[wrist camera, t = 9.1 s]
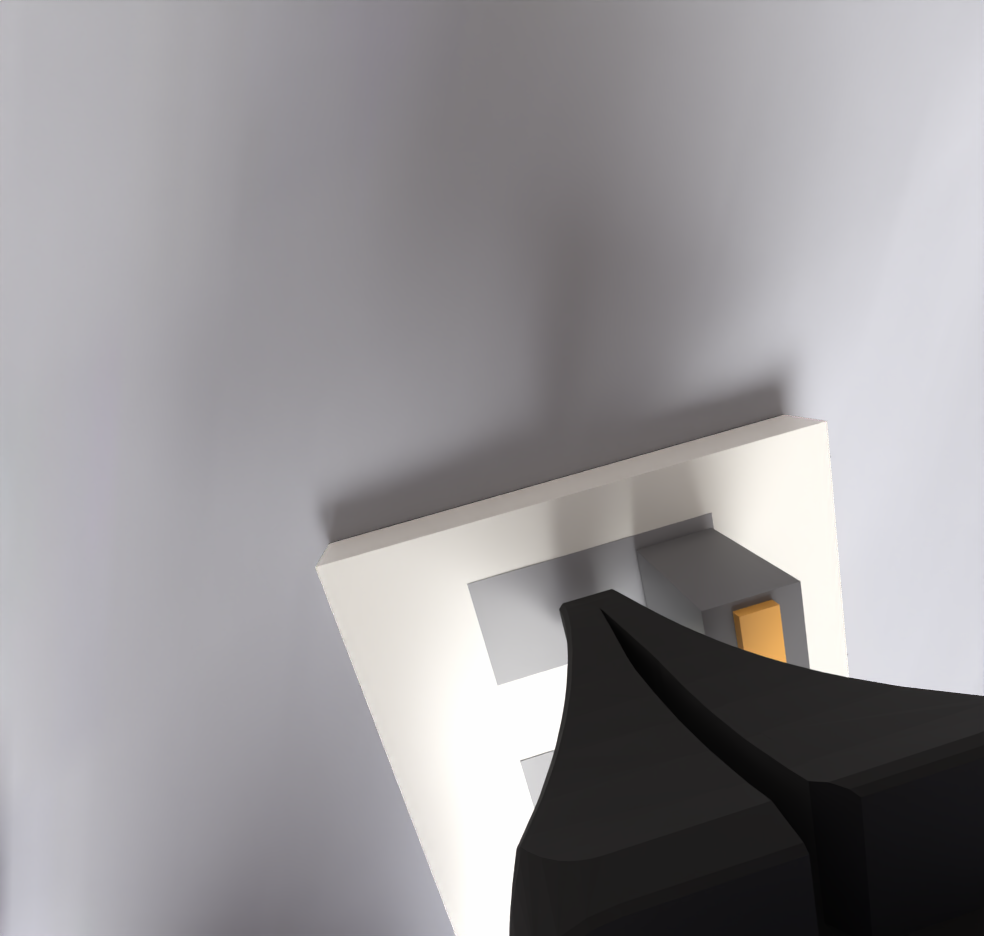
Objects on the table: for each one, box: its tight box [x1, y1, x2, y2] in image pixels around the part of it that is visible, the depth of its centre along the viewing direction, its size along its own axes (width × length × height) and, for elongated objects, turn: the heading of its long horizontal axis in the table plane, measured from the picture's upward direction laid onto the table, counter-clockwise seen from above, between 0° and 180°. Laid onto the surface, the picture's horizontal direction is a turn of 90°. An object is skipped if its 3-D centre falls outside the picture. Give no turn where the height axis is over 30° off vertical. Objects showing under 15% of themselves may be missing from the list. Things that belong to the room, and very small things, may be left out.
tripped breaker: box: [636, 528, 810, 669], centre depth 11 cm, size 2×2×3 cm
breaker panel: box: [315, 415, 849, 936], centre depth 13 cm, size 13×17×5 cm
